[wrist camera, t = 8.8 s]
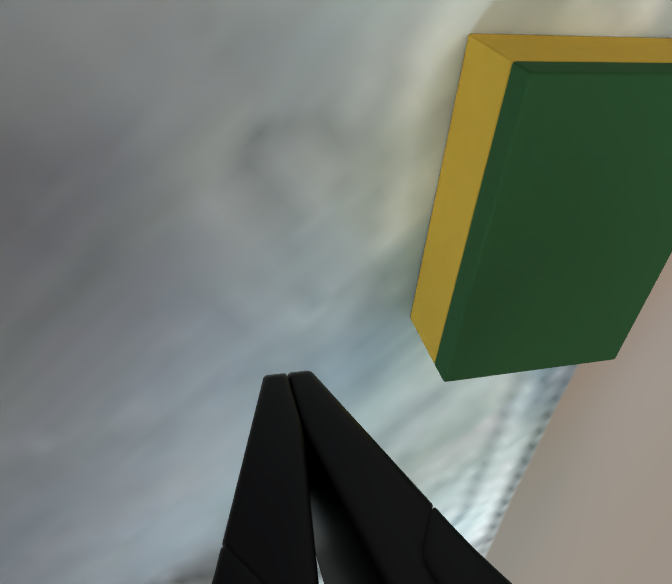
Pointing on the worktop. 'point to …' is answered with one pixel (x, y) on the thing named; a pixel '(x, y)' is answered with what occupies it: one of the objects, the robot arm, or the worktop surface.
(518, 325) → the sponge
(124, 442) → the worktop surface
